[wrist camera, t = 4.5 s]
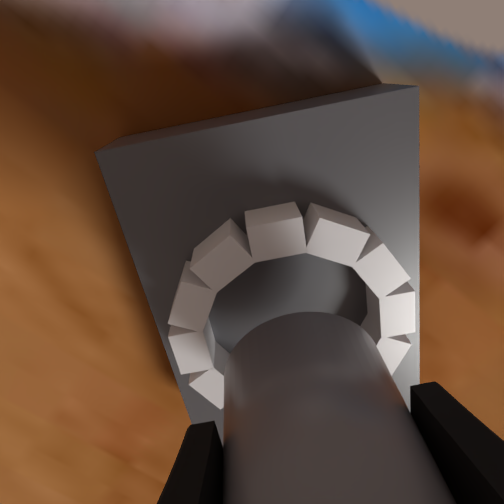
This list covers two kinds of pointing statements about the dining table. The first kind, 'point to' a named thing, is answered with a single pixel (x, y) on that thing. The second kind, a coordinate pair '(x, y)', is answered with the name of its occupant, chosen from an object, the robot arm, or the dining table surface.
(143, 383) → the dining table surface
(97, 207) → the dining table surface
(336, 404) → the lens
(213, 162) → the grey flange plate
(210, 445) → the robot arm
